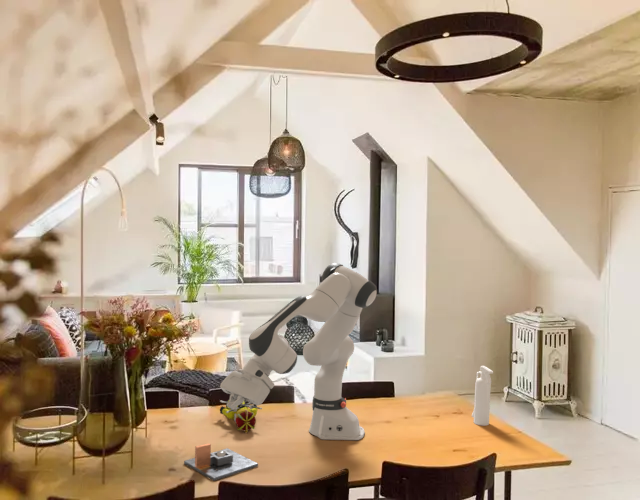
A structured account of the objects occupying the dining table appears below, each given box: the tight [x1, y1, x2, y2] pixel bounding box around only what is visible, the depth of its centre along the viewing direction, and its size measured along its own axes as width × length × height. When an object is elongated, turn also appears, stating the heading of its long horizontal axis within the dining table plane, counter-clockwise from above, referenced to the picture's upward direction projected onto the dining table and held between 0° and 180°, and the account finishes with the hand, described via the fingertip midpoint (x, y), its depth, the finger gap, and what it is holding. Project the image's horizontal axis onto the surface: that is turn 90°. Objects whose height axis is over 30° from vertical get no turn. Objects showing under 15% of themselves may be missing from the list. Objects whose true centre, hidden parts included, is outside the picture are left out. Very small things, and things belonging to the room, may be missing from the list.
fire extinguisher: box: [471, 365, 494, 427], centre depth 255 cm, size 7×12×25 cm, turn 16°
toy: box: [219, 399, 263, 434], centre depth 246 cm, size 16×9×30 cm
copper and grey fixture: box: [194, 443, 233, 468], centre depth 200 cm, size 12×6×7 cm, turn 128°
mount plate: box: [183, 448, 259, 482], centre depth 202 cm, size 18×18×4 cm
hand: (230, 407), depth 197 cm, fingers closed
